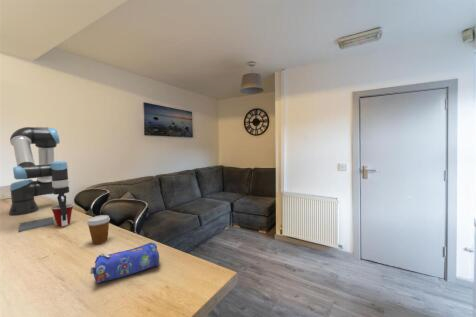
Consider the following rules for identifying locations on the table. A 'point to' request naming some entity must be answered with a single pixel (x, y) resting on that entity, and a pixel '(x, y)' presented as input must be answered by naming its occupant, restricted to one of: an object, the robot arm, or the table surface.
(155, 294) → the table surface
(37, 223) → the slate tile
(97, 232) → the disposable coffee cup
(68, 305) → the table surface
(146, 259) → the pencil case
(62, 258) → the table surface
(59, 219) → the plastic cup
